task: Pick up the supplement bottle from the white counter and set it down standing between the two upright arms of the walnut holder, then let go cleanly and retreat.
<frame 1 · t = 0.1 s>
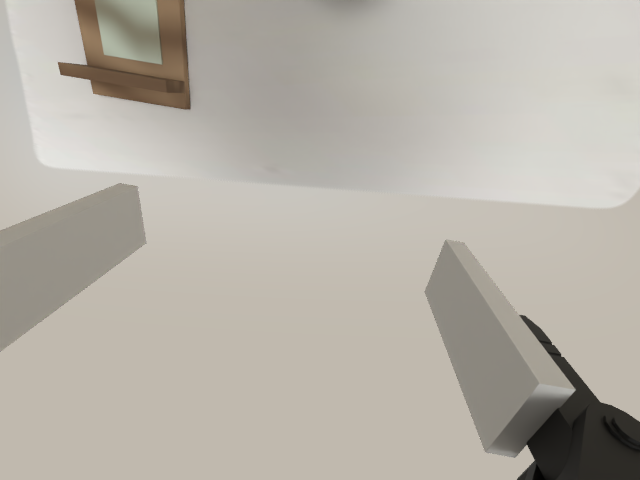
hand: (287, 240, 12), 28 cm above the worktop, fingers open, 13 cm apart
holder: (135, 25, 33), on the worktop
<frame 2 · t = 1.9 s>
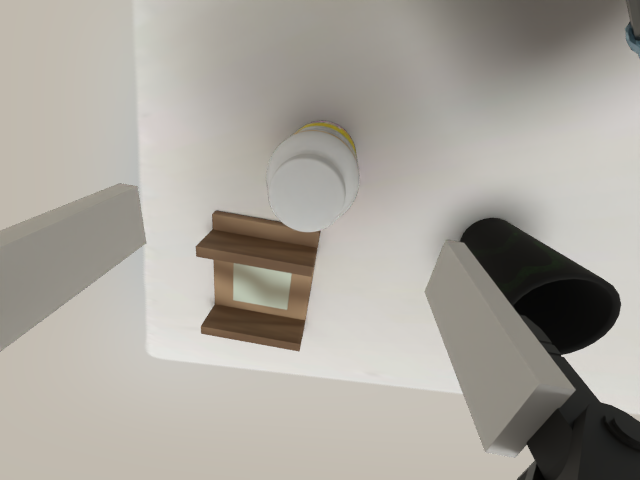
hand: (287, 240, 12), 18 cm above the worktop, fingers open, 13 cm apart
cup: (486, 240, 31), on the worktop
holder: (264, 277, 36), on the worktop
supplement bottle: (323, 155, 29), on the worktop
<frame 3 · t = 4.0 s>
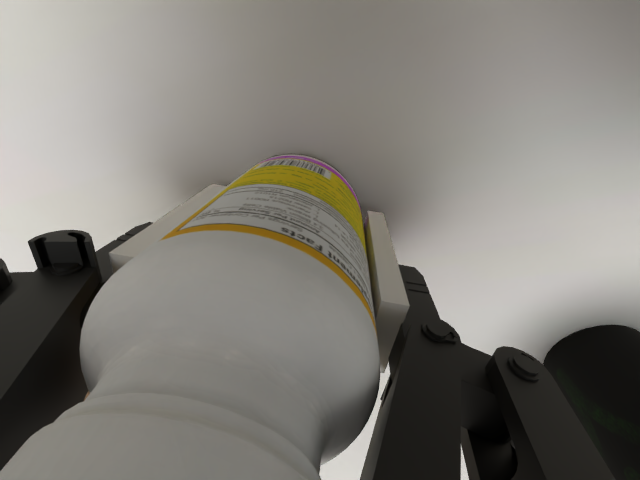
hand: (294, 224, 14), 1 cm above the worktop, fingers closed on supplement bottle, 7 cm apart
cup: (592, 356, 18), on the worktop
supplement bottle: (298, 215, 15), on the worktop, touching gripper
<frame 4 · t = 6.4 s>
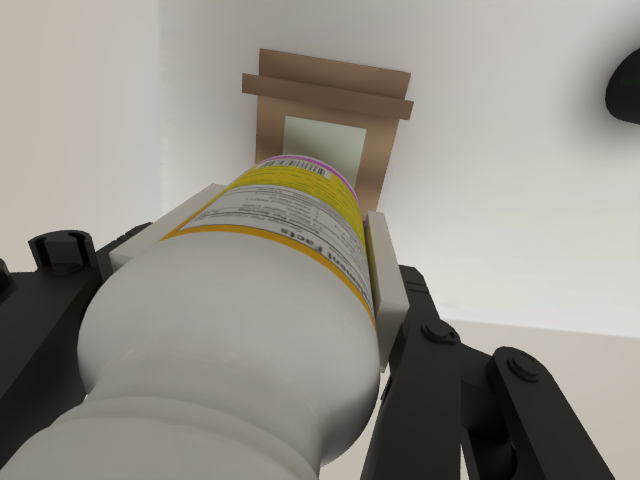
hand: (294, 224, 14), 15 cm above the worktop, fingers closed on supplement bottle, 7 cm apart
holder: (321, 160, 27), on the worktop
supplement bottle: (298, 215, 15), point 14 cm above the worktop, touching gripper
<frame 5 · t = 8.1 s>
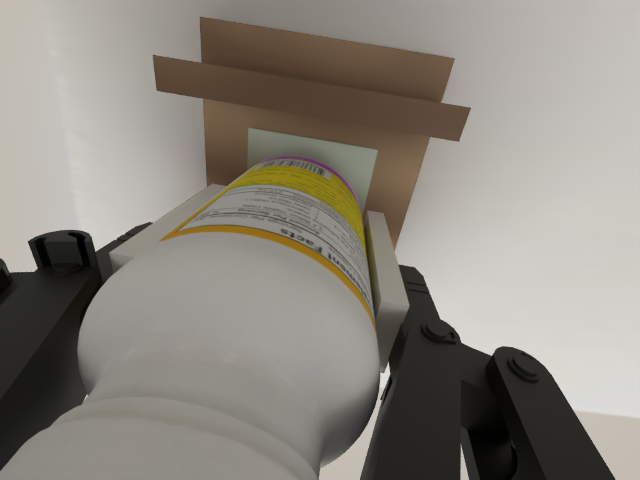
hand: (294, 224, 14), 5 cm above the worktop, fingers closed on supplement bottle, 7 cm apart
holder: (307, 193, 18), on the worktop
supplement bottle: (298, 215, 15), point 3 cm above the worktop, touching gripper
when the fingers open (3 cm above the worktop, at t = 9.1 s): supplement bottle drops 1 cm, resting on holder.
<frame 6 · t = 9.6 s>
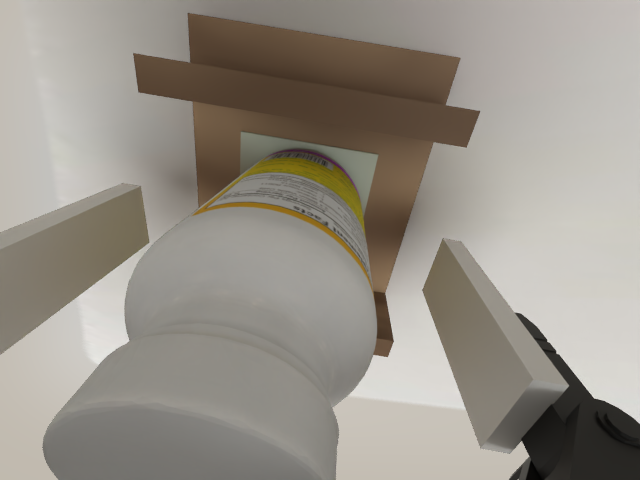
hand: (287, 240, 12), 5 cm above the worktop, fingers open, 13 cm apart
holder: (304, 200, 17), on the worktop
supplement bottle: (302, 205, 16), point 1 cm above the worktop, touching holder
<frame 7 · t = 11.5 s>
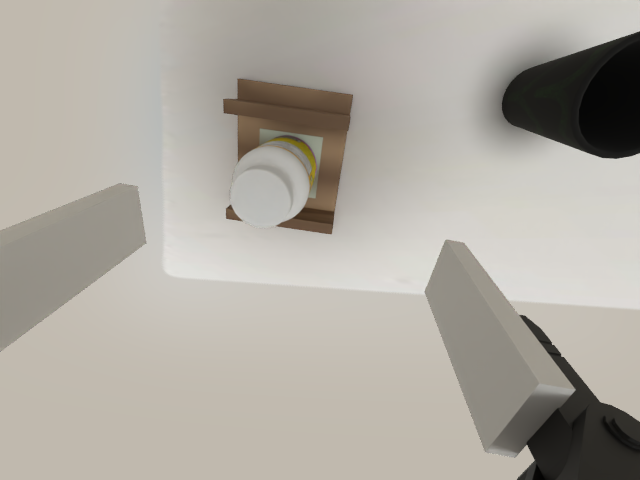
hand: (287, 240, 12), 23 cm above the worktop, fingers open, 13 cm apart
cup: (530, 98, 29), on the worktop
holder: (290, 163, 34), on the worktop
supplement bottle: (289, 164, 33), point 1 cm above the worktop, touching holder
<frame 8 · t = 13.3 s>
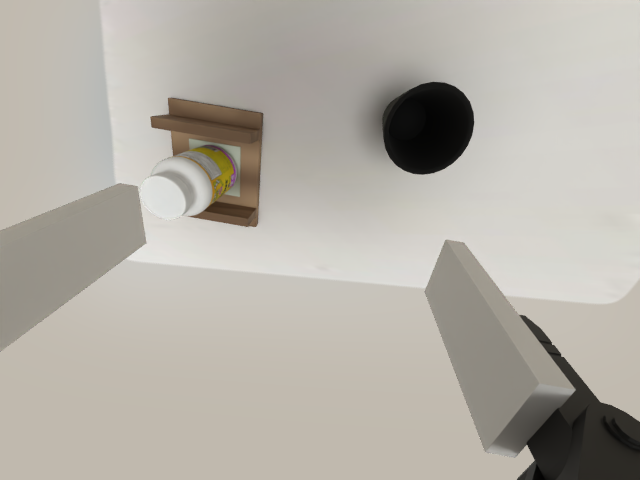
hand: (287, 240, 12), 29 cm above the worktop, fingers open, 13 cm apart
cup: (404, 119, 36), on the worktop
holder: (218, 166, 41), on the worktop
supplement bottle: (216, 168, 40), point 1 cm above the worktop, touching holder
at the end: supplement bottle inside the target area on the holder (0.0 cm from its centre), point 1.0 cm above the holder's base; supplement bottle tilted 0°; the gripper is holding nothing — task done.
